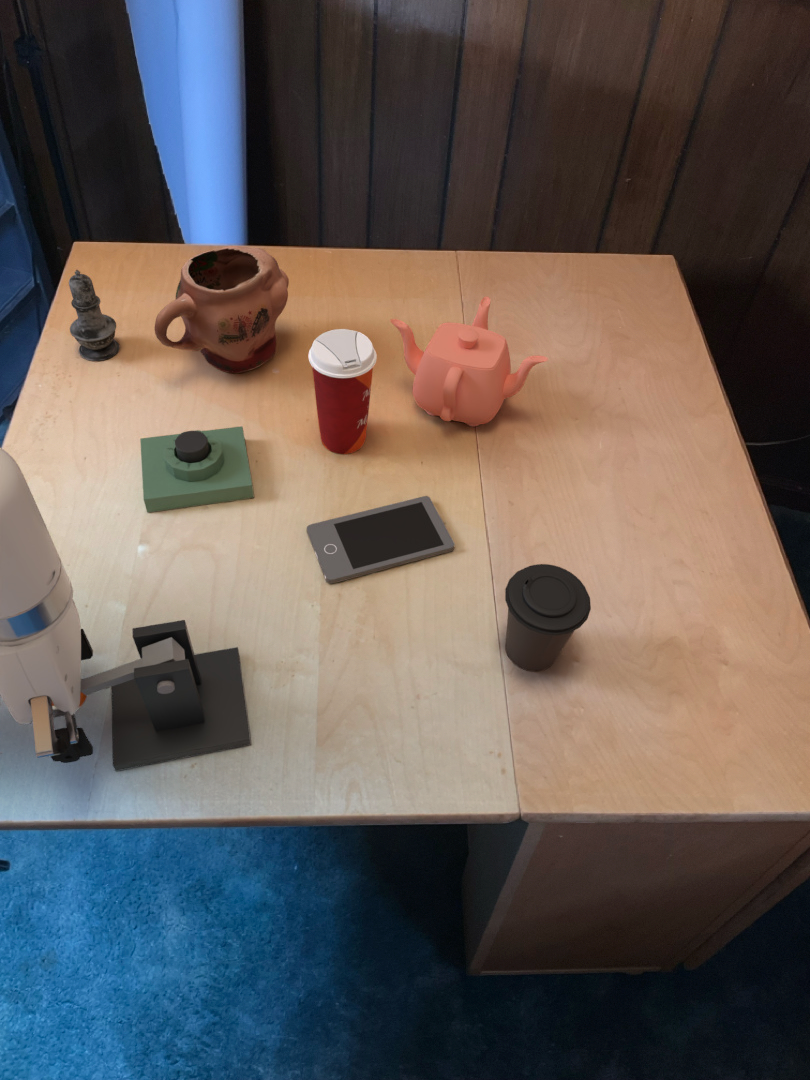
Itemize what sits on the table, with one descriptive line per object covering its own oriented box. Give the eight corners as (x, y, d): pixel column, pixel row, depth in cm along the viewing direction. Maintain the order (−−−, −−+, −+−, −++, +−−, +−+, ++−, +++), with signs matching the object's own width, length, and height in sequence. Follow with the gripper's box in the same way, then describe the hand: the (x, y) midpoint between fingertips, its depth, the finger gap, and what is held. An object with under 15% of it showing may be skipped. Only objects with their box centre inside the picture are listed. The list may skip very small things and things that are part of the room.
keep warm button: (178, 465, 91) (175, 454, 90) (176, 443, 93) (173, 432, 92) (210, 461, 92) (208, 450, 90) (208, 439, 94) (205, 428, 92)
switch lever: (60, 723, 70) (38, 708, 67) (61, 691, 72) (39, 675, 69) (189, 678, 69) (171, 661, 67) (186, 646, 71) (169, 629, 69)
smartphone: (428, 498, 95) (428, 494, 94) (456, 549, 90) (456, 545, 89) (305, 528, 91) (305, 524, 90) (327, 584, 86) (327, 580, 85)
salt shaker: (109, 330, 112) (88, 251, 102) (129, 352, 109) (109, 273, 100) (69, 345, 109) (43, 266, 100) (88, 368, 106) (64, 288, 97)
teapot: (386, 384, 108) (389, 314, 99) (478, 358, 112) (488, 289, 104) (437, 454, 100) (445, 384, 91) (534, 423, 104) (550, 354, 96)
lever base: (115, 771, 72) (85, 714, 63) (113, 674, 78) (85, 611, 69) (251, 744, 74) (239, 686, 66) (238, 653, 80) (226, 589, 72)
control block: (147, 512, 91) (140, 488, 88) (143, 451, 97) (137, 426, 94) (254, 498, 93) (250, 473, 90) (244, 439, 99) (240, 414, 96)
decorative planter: (205, 416, 102) (189, 323, 91) (142, 374, 106) (119, 280, 95) (314, 344, 112) (310, 253, 101) (251, 308, 117) (242, 218, 106)
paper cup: (382, 452, 99) (387, 360, 89) (323, 466, 97) (320, 374, 86) (361, 411, 104) (363, 319, 93) (304, 424, 102) (298, 332, 91)
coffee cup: (486, 616, 85) (500, 557, 77) (562, 614, 85) (583, 556, 78) (497, 685, 79) (514, 629, 72) (578, 682, 80) (602, 626, 72)
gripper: (-32, 509, 62) (34, 630, 76) (-57, 707, 52) (24, 807, 65) (70, 496, 64) (117, 617, 77) (65, 685, 53) (121, 788, 66)
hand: (74, 704), depth 71 cm, fingers open, 9 cm apart
